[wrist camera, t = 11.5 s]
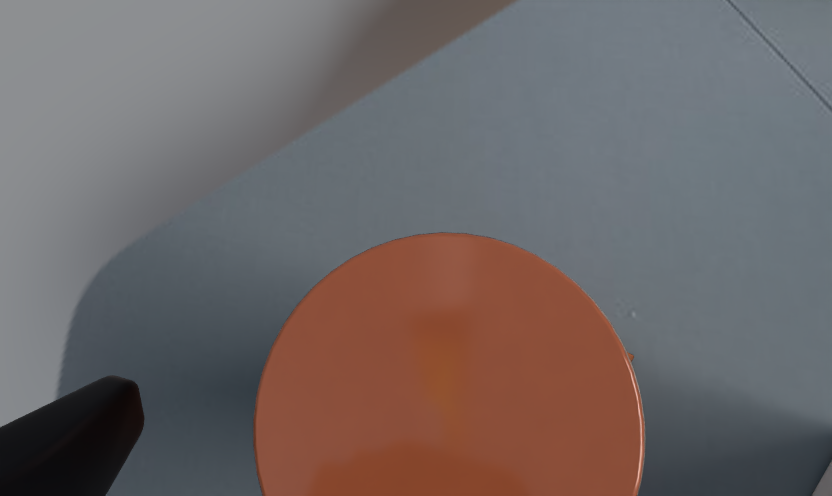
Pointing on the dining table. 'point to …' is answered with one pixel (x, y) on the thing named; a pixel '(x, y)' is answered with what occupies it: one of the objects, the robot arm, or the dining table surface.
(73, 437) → the robot arm
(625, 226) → the dining table surface
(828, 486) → the container
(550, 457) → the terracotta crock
